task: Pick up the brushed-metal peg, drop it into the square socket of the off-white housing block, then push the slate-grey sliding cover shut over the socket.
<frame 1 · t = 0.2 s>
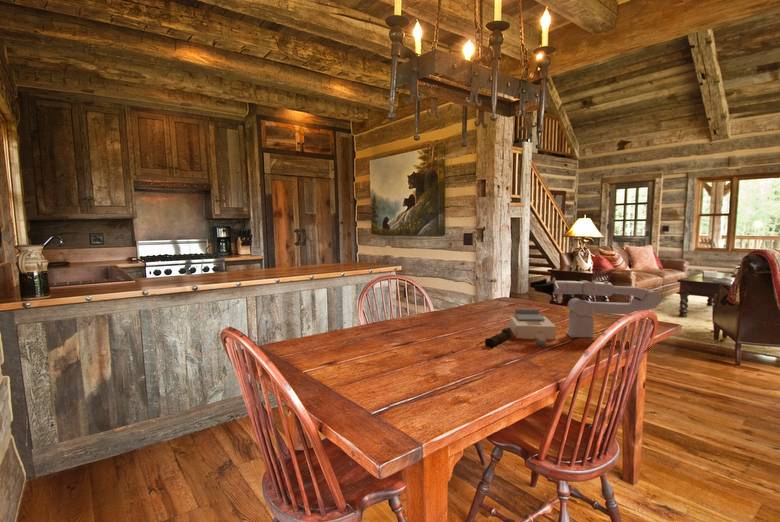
hand: (532, 286, 173), 21 cm above the table, tool horizontal, fingers open, 7 cm apart
housing: (533, 335, 174), on the table
peg: (540, 344, 161), on the table
cover: (529, 314, 182), point 7 cm above the table, slide at 9.0 cm
hand tool: (499, 342, 166), on the table
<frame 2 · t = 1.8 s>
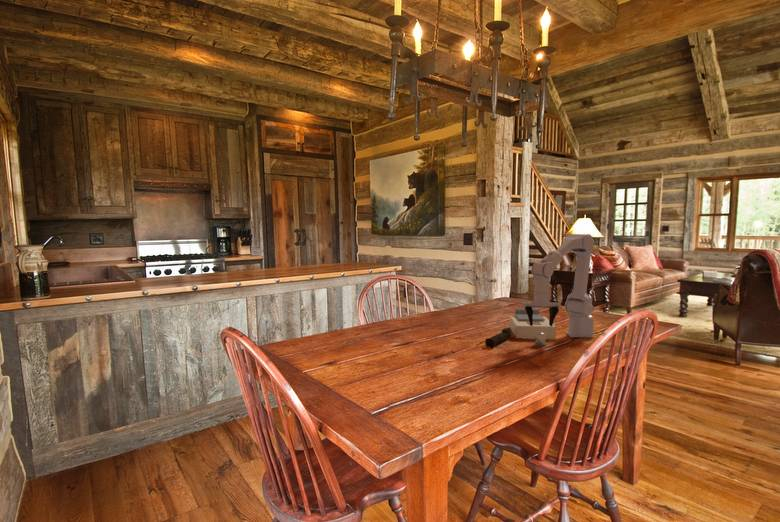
hand: (540, 325, 160), 8 cm above the table, tool pointing down, fingers open, 7 cm apart
nothing on the table moved.
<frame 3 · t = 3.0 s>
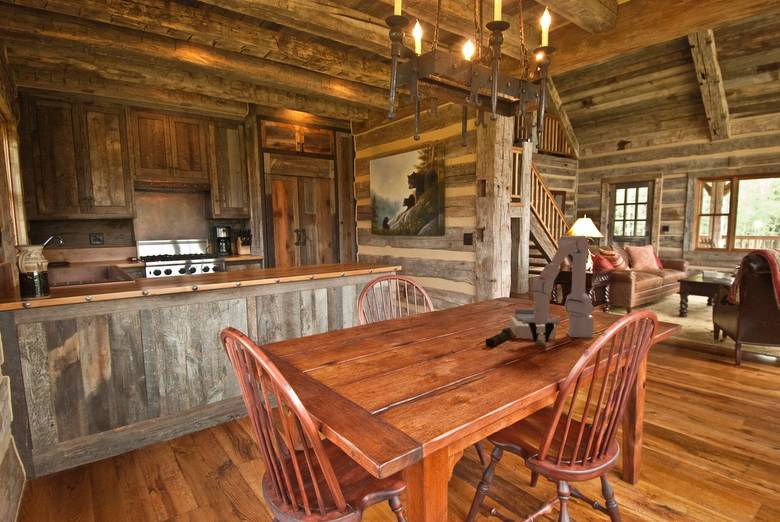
hand: (540, 341, 161), 1 cm above the table, tool pointing down, fingers closed on peg, 4 cm apart
peg: (540, 344, 161), on the table, touching gripper
everything else where it was.
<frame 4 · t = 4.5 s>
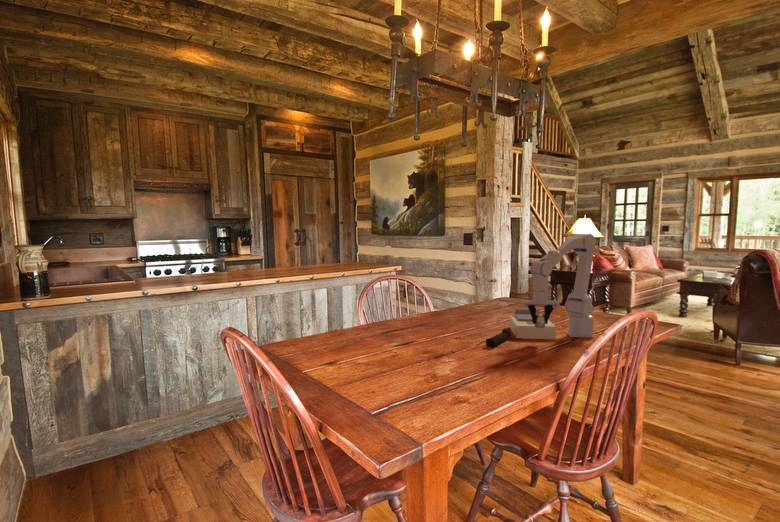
hand: (539, 323, 163), 8 cm above the table, tool pointing down, fingers closed on peg, 4 cm apart
peg: (539, 326, 163), point 7 cm above the table, touching gripper
everything else where it was.
when the fingers open (7 cm above the table, at t = 5.9 s): peg drops 5 cm, resting in housing.
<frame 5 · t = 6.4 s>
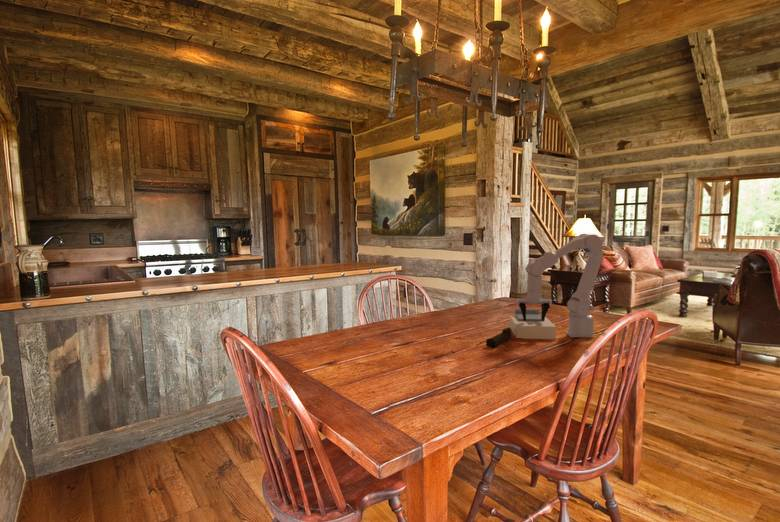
hand: (533, 320, 173), 7 cm above the table, tool pointing down, fingers open, 7 cm apart
peg: (533, 335, 174), resting in housing
everything else where it was.
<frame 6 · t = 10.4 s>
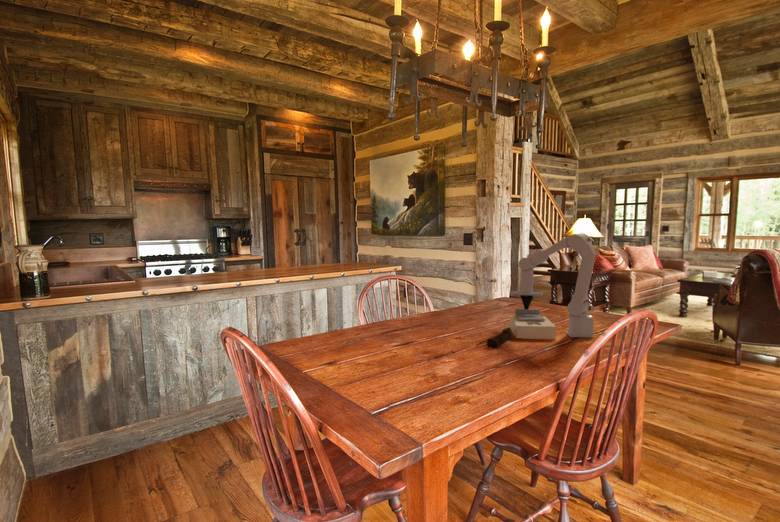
hand: (526, 311, 189), 7 cm above the table, tool pointing down, fingers closed
cover: (529, 314, 182), point 7 cm above the table, slide at 8.6 cm, touching gripper
everything else where it was.
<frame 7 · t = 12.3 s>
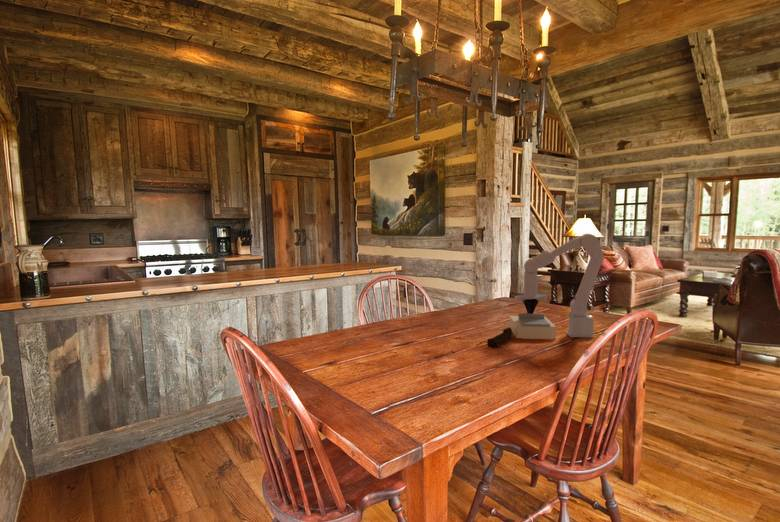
hand: (530, 315, 180), 7 cm above the table, tool pointing down, fingers closed
cover: (533, 319, 173), point 7 cm above the table, slide at -0.3 cm, touching gripper
everything else where it was.
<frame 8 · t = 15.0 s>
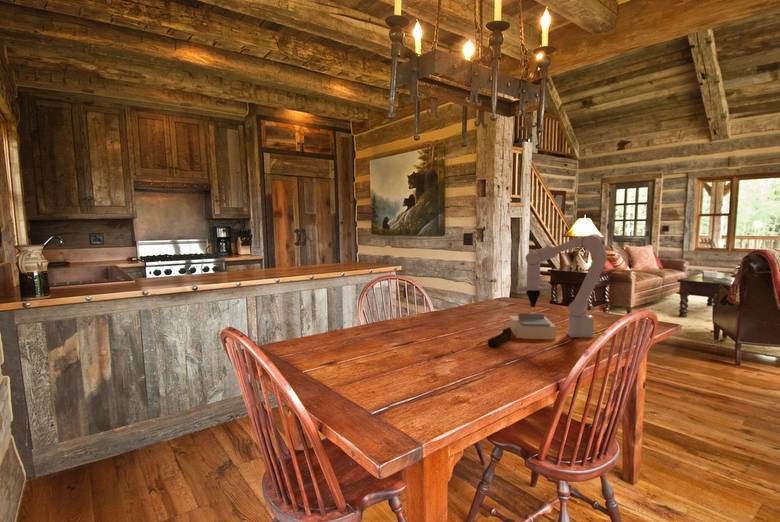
hand: (532, 306, 184), 10 cm above the table, tool pointing down, fingers closed
cover: (533, 319, 173), point 7 cm above the table, slide at 0.0 cm
everything else where it was.
at the end: peg 0.1 cm off-centre on the housing, point 0.0 cm above the housing's base; cover slide at 0.0 cm; peg tilted 0° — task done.
